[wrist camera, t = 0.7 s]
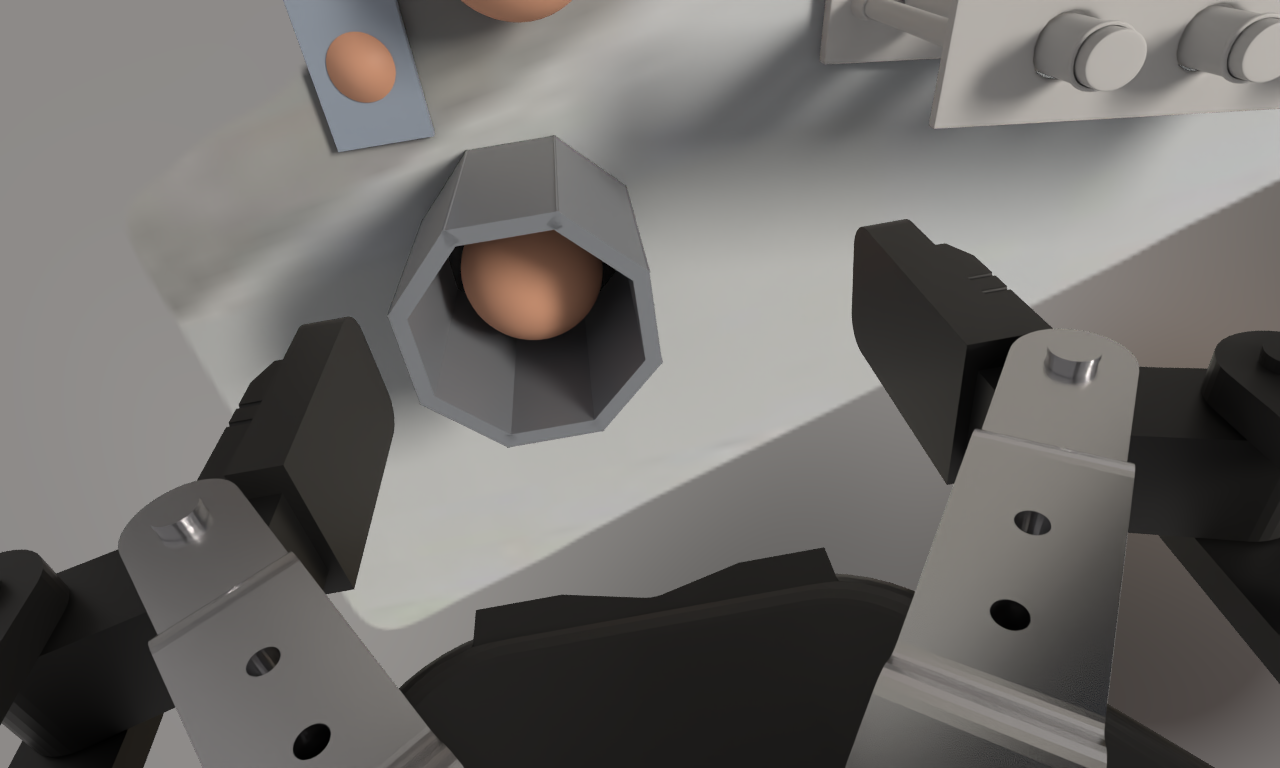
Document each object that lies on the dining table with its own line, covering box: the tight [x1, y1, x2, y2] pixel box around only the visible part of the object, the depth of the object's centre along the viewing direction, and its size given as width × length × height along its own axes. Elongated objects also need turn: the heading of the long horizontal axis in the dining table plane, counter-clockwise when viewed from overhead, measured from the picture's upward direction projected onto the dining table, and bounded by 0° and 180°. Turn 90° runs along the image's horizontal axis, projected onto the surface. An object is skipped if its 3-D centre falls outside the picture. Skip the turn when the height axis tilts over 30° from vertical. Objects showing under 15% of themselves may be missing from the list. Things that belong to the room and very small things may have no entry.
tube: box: [387, 135, 663, 448], centre depth 31 cm, size 9×9×9 cm
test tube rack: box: [820, 0, 1280, 129], centre depth 26 cm, size 25×4×13 cm, turn 92°
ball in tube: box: [461, 230, 603, 340], centre depth 32 cm, size 6×6×6 cm
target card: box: [283, 0, 435, 152], centre depth 28 cm, size 10×4×1 cm, turn 8°
